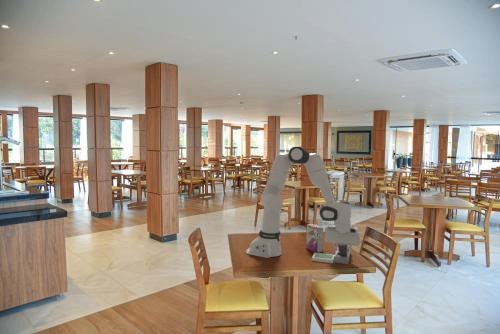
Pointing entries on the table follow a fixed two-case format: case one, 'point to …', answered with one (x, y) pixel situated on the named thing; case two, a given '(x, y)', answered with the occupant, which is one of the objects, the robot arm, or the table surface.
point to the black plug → (342, 249)
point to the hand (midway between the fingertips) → (342, 250)
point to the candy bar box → (314, 238)
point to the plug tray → (323, 257)
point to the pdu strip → (341, 257)
